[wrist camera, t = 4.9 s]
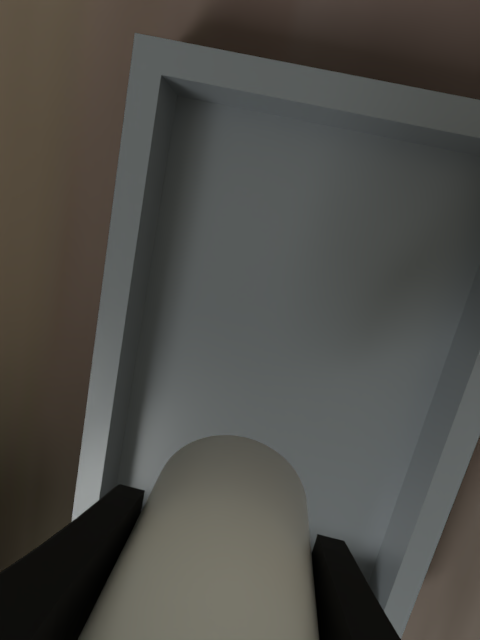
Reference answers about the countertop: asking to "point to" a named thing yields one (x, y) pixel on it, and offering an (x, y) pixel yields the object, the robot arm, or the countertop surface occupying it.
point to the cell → (215, 552)
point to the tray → (294, 294)
